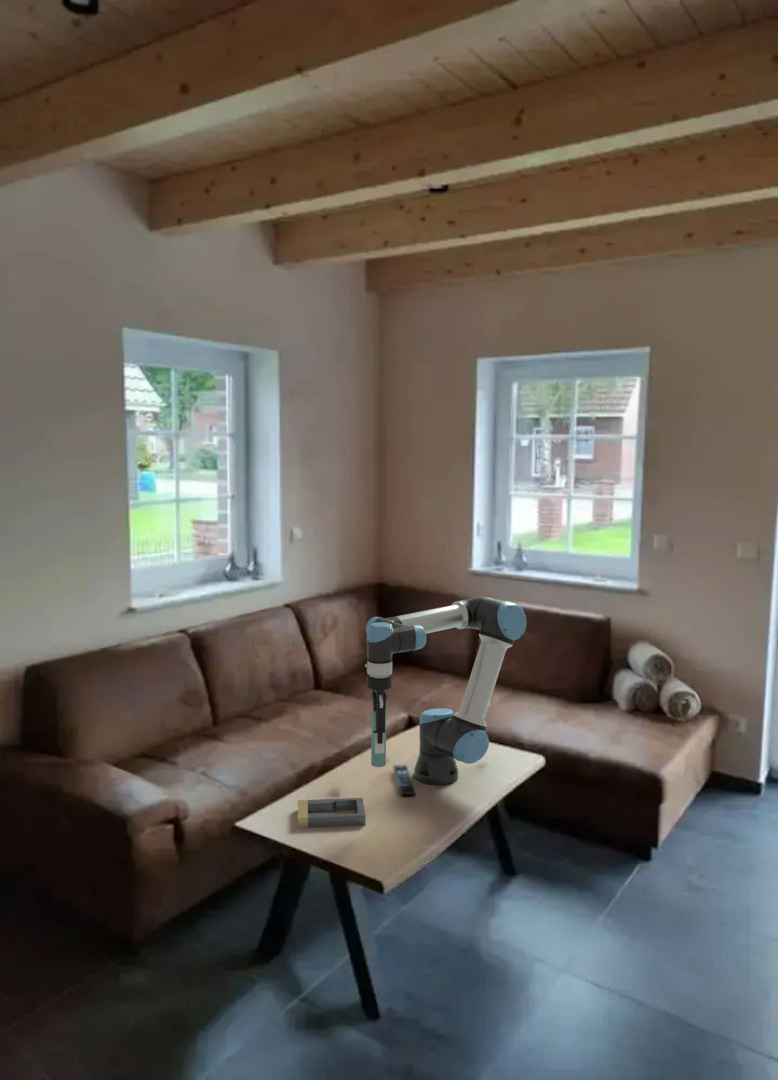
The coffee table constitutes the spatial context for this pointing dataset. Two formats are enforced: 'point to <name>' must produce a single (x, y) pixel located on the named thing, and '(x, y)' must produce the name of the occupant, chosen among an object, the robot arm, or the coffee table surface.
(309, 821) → the keyhole plate
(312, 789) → the coffee table surface
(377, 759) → the peg
